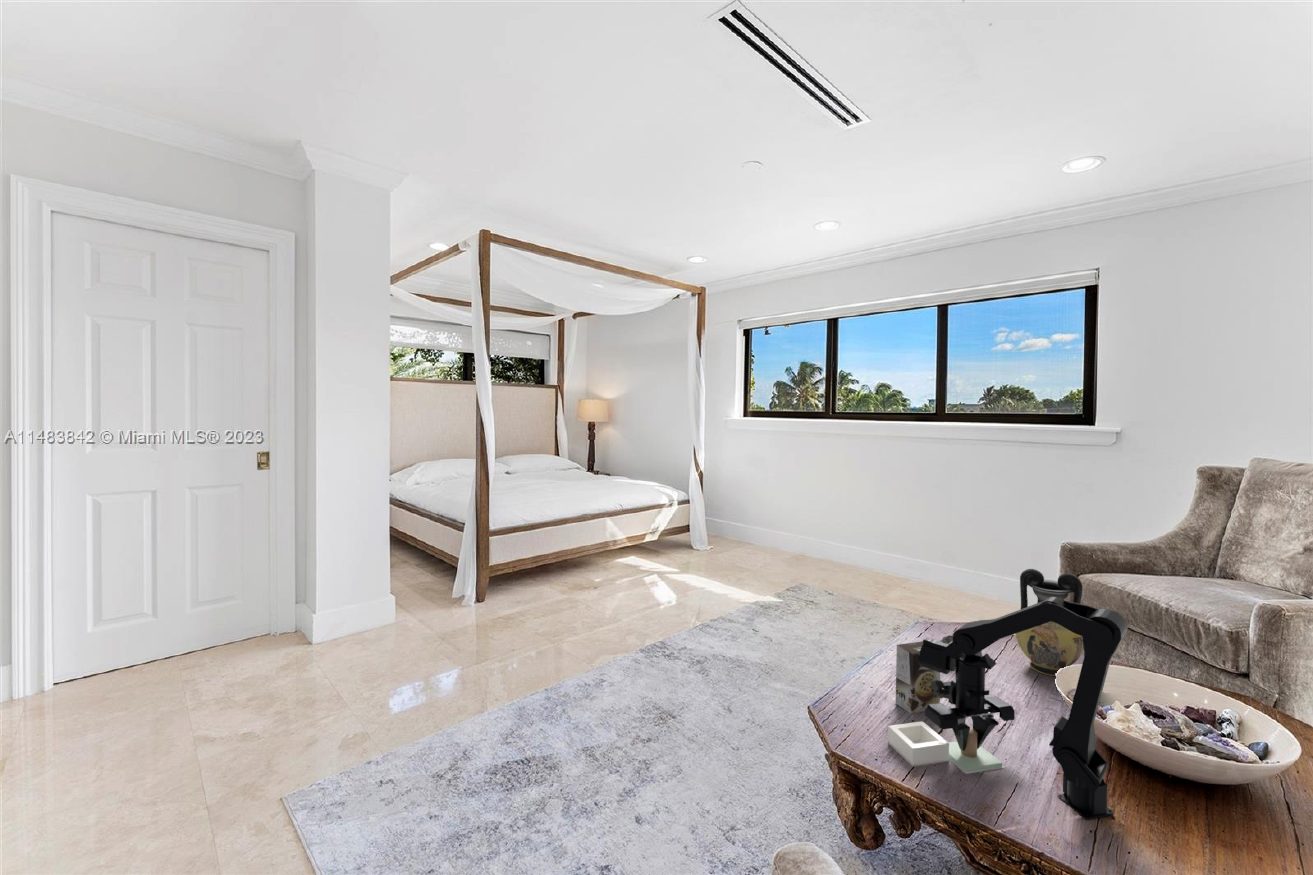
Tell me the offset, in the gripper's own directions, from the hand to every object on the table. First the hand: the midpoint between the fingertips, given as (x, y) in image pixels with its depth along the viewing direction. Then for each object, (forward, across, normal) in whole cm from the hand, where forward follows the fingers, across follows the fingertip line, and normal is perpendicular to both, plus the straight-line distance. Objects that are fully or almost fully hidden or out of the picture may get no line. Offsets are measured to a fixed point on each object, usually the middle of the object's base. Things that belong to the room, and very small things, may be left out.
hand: (969, 748), depth 126 cm
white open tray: (+2, +10, -4) cm, 11 cm away
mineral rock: (+2, -31, -42) cm, 52 cm away
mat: (+2, 0, 0) cm, 2 cm away
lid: (+2, 0, 0) cm, 2 cm away
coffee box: (+2, -3, -22) cm, 22 cm away
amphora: (+2, -54, -32) cm, 63 cm away
